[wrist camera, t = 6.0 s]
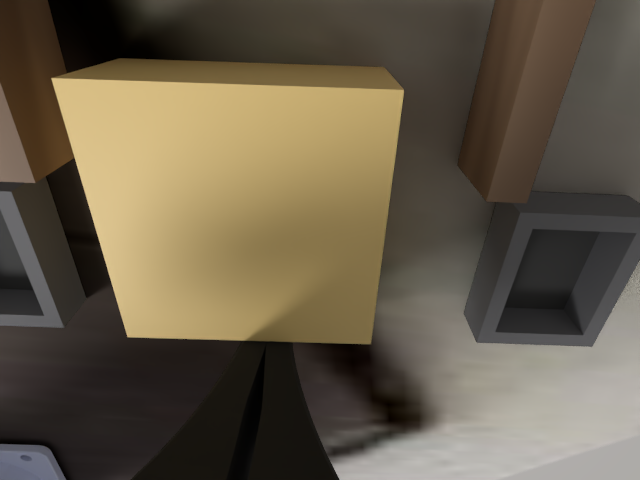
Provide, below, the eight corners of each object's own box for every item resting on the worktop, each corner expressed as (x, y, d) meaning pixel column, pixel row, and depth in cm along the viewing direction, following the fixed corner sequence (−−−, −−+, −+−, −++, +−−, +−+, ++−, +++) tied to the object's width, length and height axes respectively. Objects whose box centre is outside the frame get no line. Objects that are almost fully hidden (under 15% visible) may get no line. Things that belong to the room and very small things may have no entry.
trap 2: (463, 312, 15) (476, 342, 14) (500, 190, 12) (520, 212, 11) (569, 316, 15) (592, 346, 14) (627, 195, 13) (662, 218, 11)
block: (168, 267, 15) (127, 337, 12) (126, 56, 11) (51, 78, 8) (361, 273, 15) (370, 344, 12) (382, 65, 11) (403, 89, 8)
